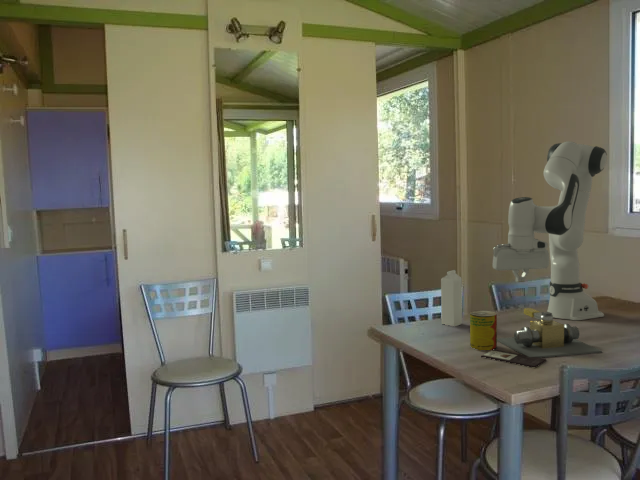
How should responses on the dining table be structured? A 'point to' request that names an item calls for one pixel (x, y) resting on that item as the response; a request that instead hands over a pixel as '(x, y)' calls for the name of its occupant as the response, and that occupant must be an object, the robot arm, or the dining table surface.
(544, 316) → the lever
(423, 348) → the dining table surface
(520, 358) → the chocolate bar
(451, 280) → the milk
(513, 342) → the mat
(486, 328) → the yellow tin can
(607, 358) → the dining table surface
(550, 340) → the valve body
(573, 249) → the robot arm
